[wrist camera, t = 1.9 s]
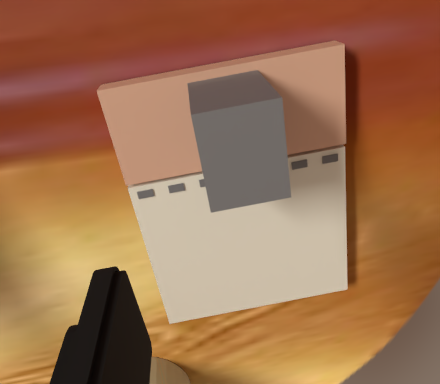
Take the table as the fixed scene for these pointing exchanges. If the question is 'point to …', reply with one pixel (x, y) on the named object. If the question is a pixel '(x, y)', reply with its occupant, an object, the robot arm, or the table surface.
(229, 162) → the stub
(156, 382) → the reusable coffee cup
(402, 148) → the table surface
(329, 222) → the white notepad
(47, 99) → the table surface
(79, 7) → the table surface
